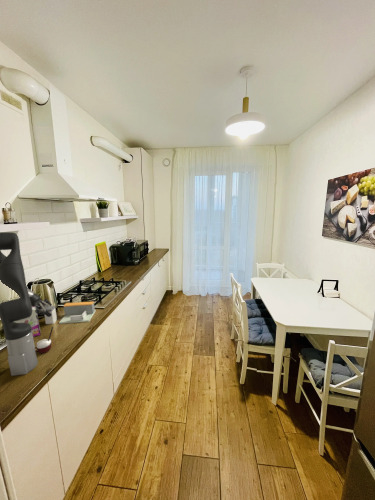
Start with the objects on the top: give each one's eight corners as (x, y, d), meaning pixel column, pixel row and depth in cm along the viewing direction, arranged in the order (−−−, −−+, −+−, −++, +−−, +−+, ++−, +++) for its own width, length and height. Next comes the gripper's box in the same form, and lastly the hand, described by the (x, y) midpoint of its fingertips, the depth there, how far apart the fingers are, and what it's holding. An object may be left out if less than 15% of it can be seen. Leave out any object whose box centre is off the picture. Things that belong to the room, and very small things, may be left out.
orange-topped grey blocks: (89, 321, 133) (87, 309, 131) (59, 323, 131) (57, 311, 129) (95, 311, 146) (94, 300, 145) (68, 312, 144) (67, 302, 142)
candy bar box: (40, 331, 123) (35, 305, 120) (41, 335, 119) (36, 309, 116) (16, 338, 116) (10, 312, 113) (16, 343, 112) (10, 315, 109)
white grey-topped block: (53, 323, 131) (51, 309, 129) (45, 324, 130) (43, 309, 128) (57, 319, 135) (54, 305, 133) (49, 320, 135) (47, 306, 133)
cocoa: (32, 356, 103) (27, 335, 100) (39, 347, 109) (34, 327, 106) (53, 353, 104) (48, 333, 101) (58, 345, 110) (54, 325, 107)
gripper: (25, 298, 121) (50, 315, 125) (39, 288, 135) (61, 304, 139) (17, 307, 121) (42, 324, 125) (32, 296, 135) (54, 312, 139)
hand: (52, 313), depth 132 cm, fingers closed on white grey-topped block, 4 cm apart
